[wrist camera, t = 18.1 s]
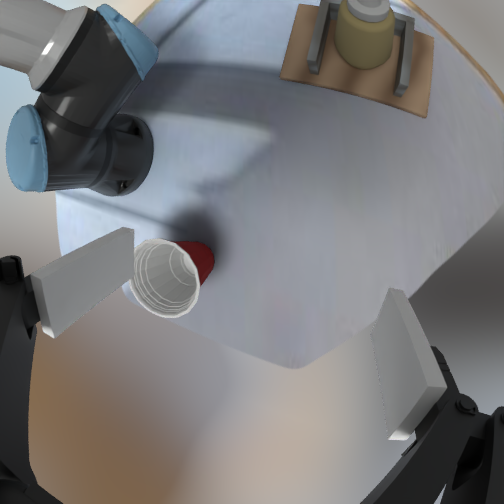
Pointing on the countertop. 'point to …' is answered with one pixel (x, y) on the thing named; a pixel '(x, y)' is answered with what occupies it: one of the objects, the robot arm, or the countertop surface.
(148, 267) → the plastic cup
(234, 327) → the countertop surface
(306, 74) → the u rest
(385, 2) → the squeeze bottle
